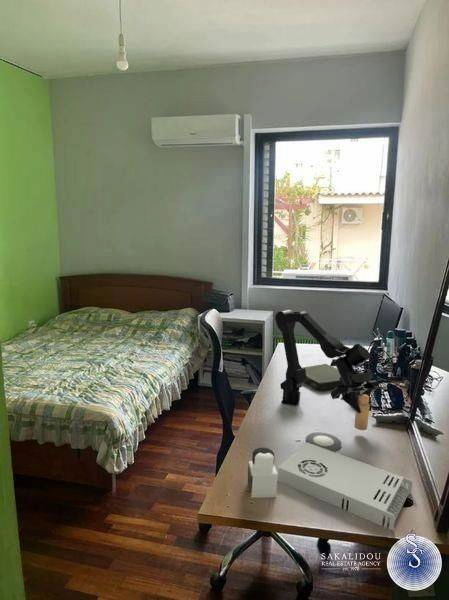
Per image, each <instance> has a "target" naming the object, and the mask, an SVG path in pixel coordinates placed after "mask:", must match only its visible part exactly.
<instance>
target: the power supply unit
mask: <svg viewBox="0 0 449 600" xmlns="http://www.w3.org/2000/svg"><path fill="white" fill-rule="evenodd" d="M277 474H278V478H277V482H279V483H282V484H284V485H287V486H289V487H291V488H294V489H296V490H297V491H300V492H303V493H305V494H307V495H310V496H312V497H314V498H316V499H319V500H321V501H324V502H326V503H328V504H330V505H333V506H334V507H337V508H338V509H339V508H340V509H342V507H343V510H344V511H346V510H347V512H348V513H351V514H353V515H356V516H358V517H361V518H362V519H365V520H368V521H369V522H372V523H374V524H376V525H378V526H380V527H382V526H383V523H384V526H383V527H384V528H386V529H387V528H388V529H389V530H390V531H394V528H395V523H396V521H397V518H398V517H399V514H401V511H402V508H403V507H404V504H405V502H406V501H407V500H406V499H408V496H409V495H411V494H412V491H413V490H412V489H413V480H412V479H409V478H407V477H404V476H401V475H399V474H396V473H394V472H390V471H388V470H385V469H382V468H380V467H377V466H374V465H372V464H370V463H369V464H368V463H365V462H363V461H360V460H357V459H354V458H352V457H348V456H346V455H343V454H341V453H337V452H336V451H330V450H327V449H324V448H321V447H319V446H316V445H313V444H310V443H307V442H306V441H305V443H303V444H302V445H301V446H300V447H299V448H298V449H297V450H295V451H294V453H292V454H291V455H290V456H289V457H288V458H287V459H285V461H284V462H282V463H281V464H280V465H279V466H278V471H277ZM375 497H376V498H375ZM347 506H348V507H347ZM388 525H389V526H388Z"/></svg>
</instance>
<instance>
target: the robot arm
mask: <svg viewBox="0 0 449 600" xmlns="http://www.w3.org/2000/svg"><path fill="white" fill-rule="evenodd" d="M274 319H275V323H276V326H277V328H278V329H279V330H280V332H281V335H282V341H283V346H284V352H285V358H286V365H287V366H286V367H287V368H286V372H285V380H284V381H282V382H281V383H280V388H281V390H283V391H282V400H281V404H285V405H290V406H295V407H296V406H297V405H298V404H299V403H300V402H301V391H300V388H302V387H303V385H304V384H306V383H305V382H306V377H307V375H306V369H305V368H303V367H302V366H301V364H300V359H299V355H298V350H297V343H296V338H295V337H296V336H295V331H294V330H295V327H296V323H299V324H300V325H302V327H303V328H304V329H305V330H306V331H307V332H308V333H309V334H310V335H311V336H312V337H313V338H314V339H315V341H317V343H318V344H319V346H320V349H321V351H322V353H324V356H325V357H327V358H328V359H331V362H330V366H332V367H335V368H336V369H338V371H339V374H340V376H341V377H340V378H339V379H340V381H343V383H344V385H342V386H337V387H336V388H335V389H331V391H330V397H331V399H332V400H335V399H340V400H341V401H344V402H345V403H346V404H348V405H349V406H350V407H351V408H352V409H353V410H355V412H356V411H357V412H358V413H361V410H360V407H359V405H358V403H357V400H356V398H355V392H358V391H360V394H365V395H368V396H369V404H370V407H369V412H372V401H371V395H372V393H373V392H374V391H375V390H377V389H378V388H380V387H381V386H380V384H379V382H378V380H375V379H373V378H374V374H373V372H372V370H371V369H364V370H363V372H362V373H360V371H358V369H357V370H356V369H355V367H358V366H360V365H361V364H363V363H365V362H367V361H369V360H370V358H371V354H370V352H369V350H368V349H367V348H365V347H364V346H362V345H361V344H360V343H359V342H358V343H356V344H354V345H353V346H352V347H349V346H346V345H344V344H343V342H342V341H340V340H339V339H337V338H336V337H334V336H332V335H330V334H329V333H327V332H326V330H324V329H323V328H322V327H321V326H320V325H319V324H318V322H316V321H315V320H314V319H313V318H312V317H311V315H310V313H308V312H307V311H293V310H291V309H285V310H281V311H277V312H276V314H275V316H274ZM335 358H336V359H335ZM372 379H373V380H372ZM362 384H364V385H362ZM341 396H342V397H341Z"/></svg>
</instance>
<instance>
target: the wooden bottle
mask: <svg viewBox="0 0 449 600" xmlns="http://www.w3.org/2000/svg"><path fill="white" fill-rule="evenodd" d="M357 403H358V405H359V407H360V410H361V413H358V412H357V411H356V410H355V414H354V425H353V426H354V428H355V429H356V430H358V431H359V430H360V431H366V430H367V429H368V424H369V415H370V411H369V407H370V404H369V396H368V395H365V394H359V397H358V402H357Z"/></svg>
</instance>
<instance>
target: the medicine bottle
mask: <svg viewBox="0 0 449 600" xmlns="http://www.w3.org/2000/svg"><path fill="white" fill-rule="evenodd" d="M247 468H248V469H247V486H248V490H249V494H250V498H252V499H259V498H260V499H264V498H265V499H267V498H269V499H270V498H277V494H278V493H277V491H278V490H277V489H278V471H277V469H276V466H275V452H274V451H273V450H272V449H271V448H268V447H257V448H255V449H254V450H253V452H252V460H249V461H248V467H247Z"/></svg>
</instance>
